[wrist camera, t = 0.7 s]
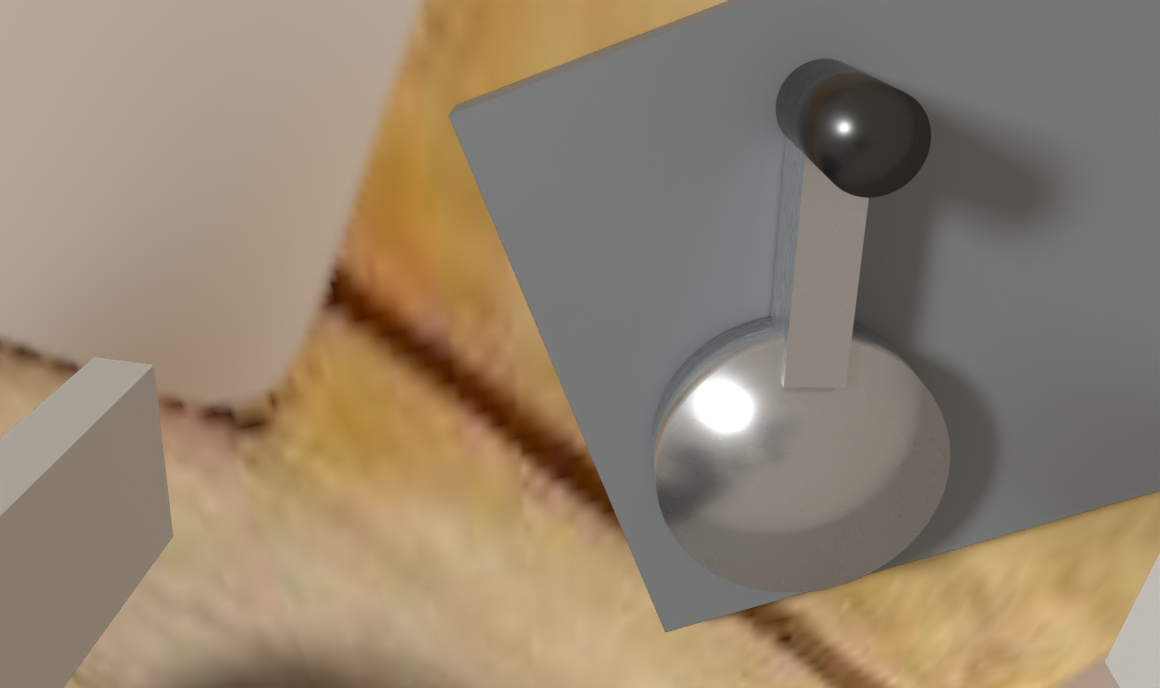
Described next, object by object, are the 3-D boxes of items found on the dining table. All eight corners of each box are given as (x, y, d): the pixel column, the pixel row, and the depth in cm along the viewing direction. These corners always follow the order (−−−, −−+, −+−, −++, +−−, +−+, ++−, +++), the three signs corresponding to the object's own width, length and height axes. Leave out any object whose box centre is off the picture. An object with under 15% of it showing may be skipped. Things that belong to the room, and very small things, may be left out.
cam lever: (906, 552, 36) (964, 663, 30) (647, 552, 36) (659, 664, 30) (987, 57, 29) (1084, 86, 23) (662, 59, 29) (681, 88, 23)
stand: (661, 600, 40) (666, 637, 37) (456, 105, 31) (447, 117, 29) (1275, 420, 36) (1318, 451, 34) (1226, -191, 28) (1279, -202, 26)
